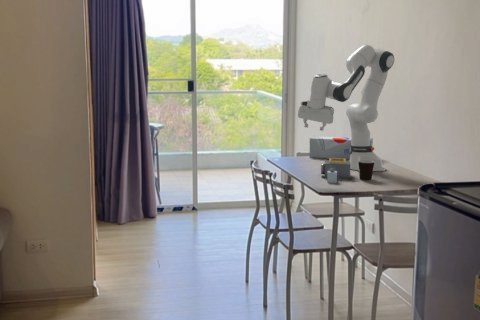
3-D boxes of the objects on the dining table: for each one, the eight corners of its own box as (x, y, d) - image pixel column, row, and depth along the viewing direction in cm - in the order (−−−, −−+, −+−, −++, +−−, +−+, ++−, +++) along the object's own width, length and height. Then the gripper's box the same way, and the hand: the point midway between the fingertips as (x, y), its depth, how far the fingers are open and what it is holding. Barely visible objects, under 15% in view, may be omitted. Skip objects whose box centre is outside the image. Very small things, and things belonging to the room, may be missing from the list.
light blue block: (336, 181, 316) (336, 168, 315) (336, 182, 311) (337, 169, 310) (327, 180, 317) (327, 167, 316) (327, 182, 312) (327, 169, 311)
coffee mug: (370, 181, 314) (371, 163, 312) (355, 179, 319) (355, 161, 317) (377, 178, 324) (378, 160, 322) (362, 176, 328) (363, 158, 327)
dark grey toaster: (349, 174, 333) (349, 158, 331) (350, 178, 322) (350, 161, 320) (320, 173, 335) (321, 157, 333) (320, 177, 324) (321, 160, 323)
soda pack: (372, 158, 389) (373, 137, 387) (370, 161, 377) (371, 140, 375) (312, 154, 402) (313, 135, 400) (308, 157, 390) (309, 137, 388)
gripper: (336, 106, 316) (333, 131, 319) (303, 100, 326) (300, 125, 329) (332, 107, 311) (328, 133, 314) (298, 101, 321) (295, 126, 324)
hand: (313, 128), depth 322 cm, fingers open, 8 cm apart
